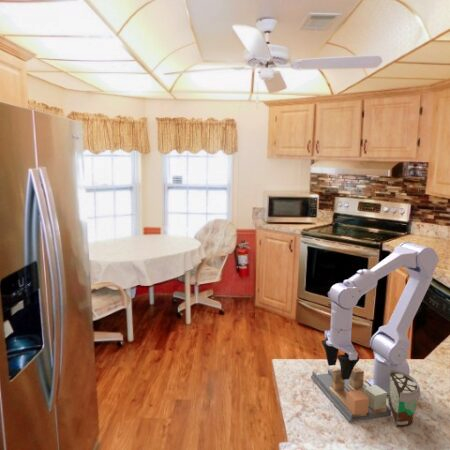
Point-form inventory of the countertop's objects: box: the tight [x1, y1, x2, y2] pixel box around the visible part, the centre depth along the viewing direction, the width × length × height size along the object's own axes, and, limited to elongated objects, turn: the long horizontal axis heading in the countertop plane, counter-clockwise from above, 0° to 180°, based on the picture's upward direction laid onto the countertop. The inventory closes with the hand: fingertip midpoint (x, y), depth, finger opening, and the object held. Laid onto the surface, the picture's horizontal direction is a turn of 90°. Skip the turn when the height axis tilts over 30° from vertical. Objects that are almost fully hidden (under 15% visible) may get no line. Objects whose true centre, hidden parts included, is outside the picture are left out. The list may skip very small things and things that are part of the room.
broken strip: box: [348, 367, 387, 414], centre depth 106 cm, size 4×12×6 cm, turn 13°
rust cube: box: [346, 390, 369, 415], centre depth 100 cm, size 4×4×4 cm
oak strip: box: [329, 369, 367, 417], centre depth 105 cm, size 4×12×6 cm, turn 13°
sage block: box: [364, 385, 388, 410], centre depth 103 cm, size 4×4×4 cm
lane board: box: [310, 368, 392, 423], centre depth 110 cm, size 12×22×2 cm, turn 13°
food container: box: [387, 370, 421, 428], centre depth 100 cm, size 12×6×10 cm, turn 168°
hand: (338, 371), depth 109 cm, fingers open, 7 cm apart
